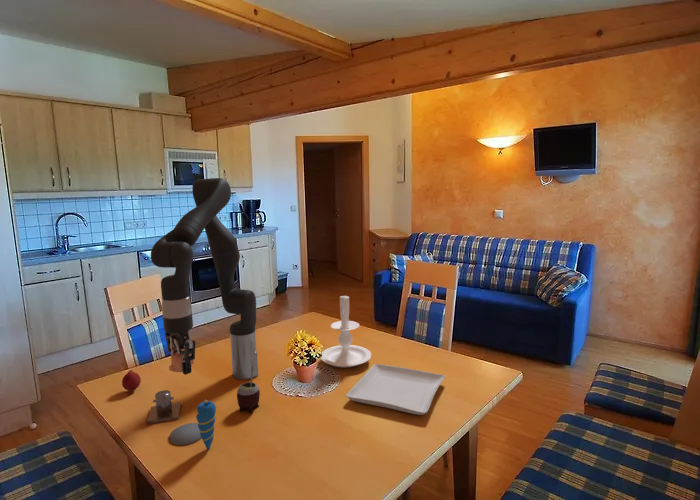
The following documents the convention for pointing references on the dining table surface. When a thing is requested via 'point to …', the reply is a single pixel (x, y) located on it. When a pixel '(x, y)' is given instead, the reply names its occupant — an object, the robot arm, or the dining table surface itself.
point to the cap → (176, 363)
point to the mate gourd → (248, 395)
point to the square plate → (397, 388)
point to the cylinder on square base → (164, 408)
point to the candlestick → (345, 342)
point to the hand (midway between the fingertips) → (182, 370)
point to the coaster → (185, 434)
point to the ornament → (206, 421)
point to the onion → (131, 381)
